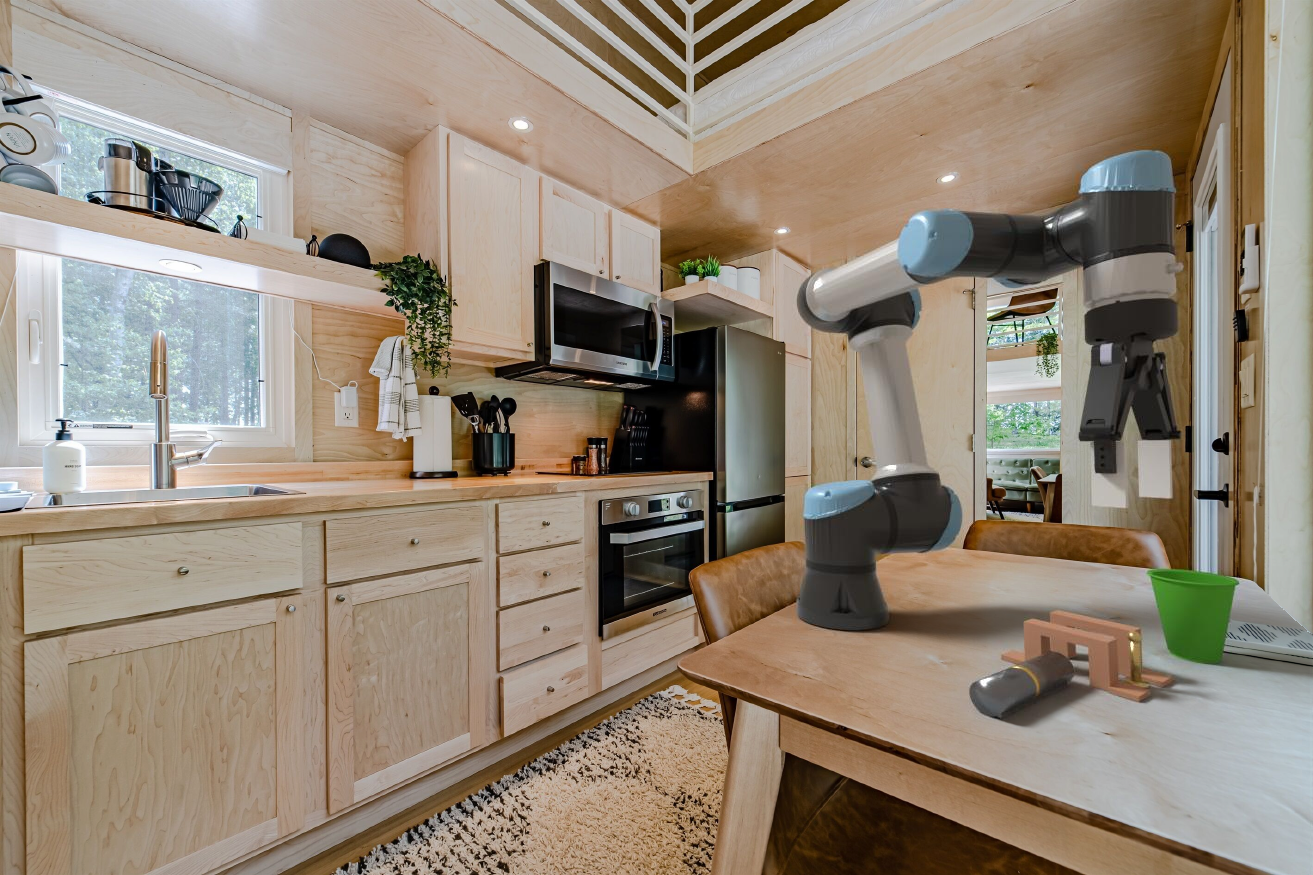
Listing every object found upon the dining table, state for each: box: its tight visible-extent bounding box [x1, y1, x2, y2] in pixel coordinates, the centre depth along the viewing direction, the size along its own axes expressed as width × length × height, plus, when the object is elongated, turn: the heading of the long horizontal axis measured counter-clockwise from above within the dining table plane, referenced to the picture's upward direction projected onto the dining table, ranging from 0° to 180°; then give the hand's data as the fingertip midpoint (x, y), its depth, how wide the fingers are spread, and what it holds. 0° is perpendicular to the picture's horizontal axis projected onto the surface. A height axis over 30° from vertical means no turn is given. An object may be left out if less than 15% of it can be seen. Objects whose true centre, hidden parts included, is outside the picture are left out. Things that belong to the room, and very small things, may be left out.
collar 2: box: [1049, 609, 1174, 688], centre depth 72 cm, size 15×3×6 cm, turn 30°
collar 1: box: [1000, 618, 1151, 703], centre depth 68 cm, size 15×3×6 cm, turn 30°
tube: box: [968, 651, 1075, 720], centre depth 63 cm, size 16×4×4 cm, turn 120°
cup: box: [1146, 568, 1240, 665], centre depth 74 cm, size 9×9×11 cm
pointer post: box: [1122, 631, 1151, 690], centre depth 65 cm, size 2×2×6 cm
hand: (1134, 502), depth 57 cm, fingers open, 13 cm apart
